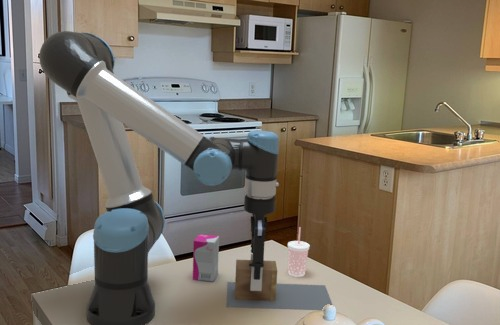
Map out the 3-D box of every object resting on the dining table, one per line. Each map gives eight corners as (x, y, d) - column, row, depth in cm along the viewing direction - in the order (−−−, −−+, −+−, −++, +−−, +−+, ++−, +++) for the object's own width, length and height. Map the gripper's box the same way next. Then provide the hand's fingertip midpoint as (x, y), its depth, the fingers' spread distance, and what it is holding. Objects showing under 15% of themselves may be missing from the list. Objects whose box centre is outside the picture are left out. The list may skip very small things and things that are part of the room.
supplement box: (218, 275, 143) (219, 235, 140) (213, 284, 137) (214, 242, 135) (198, 272, 144) (199, 233, 141) (191, 281, 138) (193, 240, 136)
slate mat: (226, 309, 124) (226, 307, 124) (227, 283, 138) (227, 281, 138) (334, 312, 125) (334, 310, 125) (324, 287, 139) (325, 285, 138)
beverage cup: (290, 268, 149) (293, 222, 147) (310, 273, 147) (314, 226, 144) (282, 276, 144) (285, 228, 141) (303, 281, 141) (306, 232, 139)
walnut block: (234, 299, 128) (236, 269, 126) (234, 288, 134) (236, 259, 132) (275, 300, 128) (277, 270, 127) (273, 290, 134) (275, 261, 132)
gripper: (278, 207, 117) (272, 302, 121) (273, 186, 135) (268, 269, 140) (245, 205, 116) (240, 301, 121) (244, 184, 135) (240, 268, 140)
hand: (255, 284), depth 130 cm, fingers closed on walnut block, 6 cm apart
